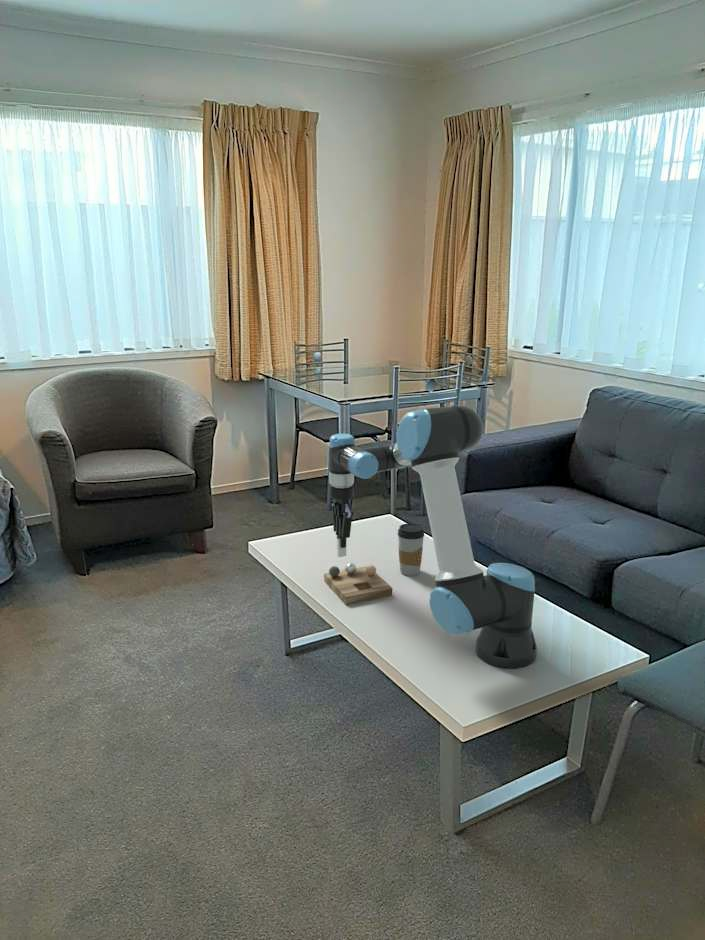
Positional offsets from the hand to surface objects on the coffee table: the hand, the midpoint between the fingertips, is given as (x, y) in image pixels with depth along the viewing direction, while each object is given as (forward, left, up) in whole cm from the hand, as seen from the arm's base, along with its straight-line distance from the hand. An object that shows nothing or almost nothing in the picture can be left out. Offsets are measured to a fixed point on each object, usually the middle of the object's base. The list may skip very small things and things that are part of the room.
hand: (341, 555), depth 234 cm
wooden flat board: (-13, 0, -6) cm, 14 cm away
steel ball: (-7, 0, -1) cm, 7 cm away
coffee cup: (-8, -20, -6) cm, 22 cm away
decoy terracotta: (-11, -5, -1) cm, 12 cm away
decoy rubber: (-7, +5, -1) cm, 9 cm away
